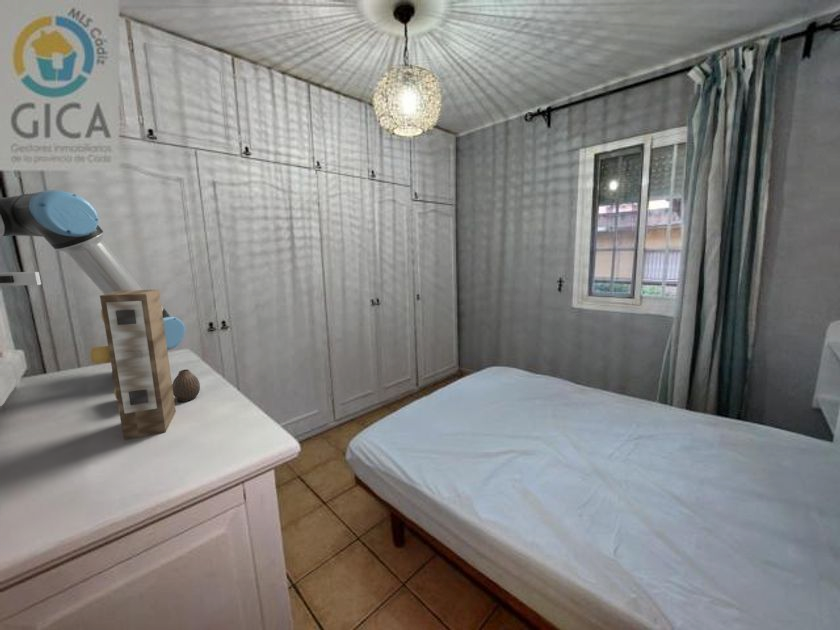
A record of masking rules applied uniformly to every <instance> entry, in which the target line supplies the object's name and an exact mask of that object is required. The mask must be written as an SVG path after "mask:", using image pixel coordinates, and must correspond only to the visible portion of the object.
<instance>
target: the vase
mask: <svg viewBox="0 0 840 630" xmlns="http://www.w3.org/2000/svg"><path fill="white" fill-rule="evenodd" d="M199 380H200V379H199V378H198V377H197V376H196V375H195V374H194V373H192V371H190V369H181V370H180V371H178V373H177V376H176V377H175V378H174V380H173V381H172V388H173V395H174V399H177V400H178V401H180V402H185V401H191V400H193V399H195V398H196V397H197V396H198V395H199V393H200V390H201V383H200V381H199ZM190 399H191V400H190Z"/></svg>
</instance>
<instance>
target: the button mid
mask: <svg viewBox="0 0 840 630" xmlns="http://www.w3.org/2000/svg"><path fill="white" fill-rule="evenodd" d="M90 360H91V362H92V363H93V364H94V365H98V364H108V363H110V364H111V360H110V354H109V348H108V345H101V346H93V347H92V348H91V350H90Z"/></svg>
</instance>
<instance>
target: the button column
mask: <svg viewBox="0 0 840 630" xmlns="http://www.w3.org/2000/svg"><path fill="white" fill-rule="evenodd" d="M99 298H100V299H99V300H100V306H101V310H102V312H103V318H104V321H103V323H104V328H105V336H106V340H107V341H106V342H107V346H108V348H109V354H110V360H111V362H110V364H111V372H112V371H113V377H114V379H113V383H114V390H115V389H116V395H117V399H116V400H117V406H118V412H119V418H120V424H121V430H122V437H123V440H124V441H125V440H129V439H135V438H140V437H145V436H150V435H157V434H162V433H166V432H167V430H168V428H169V426H170V424H171V422H172V420H173V419H174V416H175V415H176V412H177V411H176V402H175V396H174V395H173V388H172V384H173V381H172V373H171V365H170V359H169V353H168V351H169V350H167V344H166V336H165V329H164V321H163V314H162V307H163V306H162V301H161V292H160V289H157V288H156V289H142V290H126V291H116V292H112V293H108V294H105V295H104V294H102V295H99ZM161 306H162V307H161ZM113 377H112V378H113Z"/></svg>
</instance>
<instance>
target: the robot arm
mask: <svg viewBox="0 0 840 630" xmlns="http://www.w3.org/2000/svg"><path fill="white" fill-rule="evenodd" d="M104 233H105V232H104V230H103V229H102V228H101V227H100V225H99V215H98V212H97V210H96V209H95V207H94V206H93V205H92V203H90V202H89V201H88V200H86V199H85V198H84V197H82V196H80V195H78V194H75V193H72V192H69V191H66V190H65V191H63V190H43V191H37V192H32V193H24V194H21V195H20V194H19V195H14V196H9V197H7V196H6V197H0V237H7V236H12V237H13V236H15V237H16V236H17V237H18V236H21V237H23V236H24V237H25V236H26V237H42V238H43V239H45V240H46V242H48V243H49V245H50V246H51V247H52V249H54V250H55V251H58V252H59V251H60V252H64V253H66V254H68V256H69V257H70V258H71V259H72V261H74V262H75V264H76V265H77V266H78V267H79V268H80V269H81V270H82V271H83V272H84V273H85V275H86V276H87V277H88V278H89V279H90V281H92V283H94V284H95V286H96V287H97V288H98V289H99V290H100V291H101V292H102V294H103V295H105V294H108V293H112V292H116V291H126V290H143V288H142V287H141V286H140V285H139V284H138V283H137V281H136V280H135V279H134V278H133V276H132V275H131V274H130V273H129V271H128V270H127V269H126V267H124V265H123V264H122V263H121V261H120V260H119V258H118V257H116V255H115V254H114V253H113V252H112V250H111V249H110V247H108V245H107V244H106V243H105V242H104V240H103V237H104ZM41 285H42V281H41V277H40V271H35V272H34V271H25V272H24V271H21V272H20V271H19V272H16V271H15V272H13V271H12V272H0V287H11V286H12V287H14V286H17V287H18V286H19V287H20V286H41ZM161 307H162V314H163V321H164V329H165V336H166V344H167V351H170V350H173V349H175V348H177V347H178V346H179V345H180V344H181V343H182V342H183V341H184V339H185V334H186V326H185V324H184V322H183V321H182V320H181V319H179V318H177V317H175V316H171V315H170V314H169V312H168V311H167V310H166V308H165V307H164V306H162V305H161ZM111 377H112V379H113V380H114V377H113V371H112V370H111Z"/></svg>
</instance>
